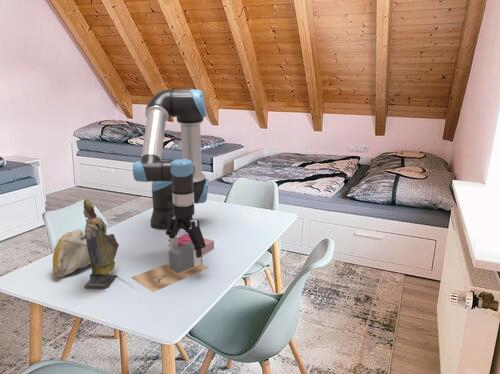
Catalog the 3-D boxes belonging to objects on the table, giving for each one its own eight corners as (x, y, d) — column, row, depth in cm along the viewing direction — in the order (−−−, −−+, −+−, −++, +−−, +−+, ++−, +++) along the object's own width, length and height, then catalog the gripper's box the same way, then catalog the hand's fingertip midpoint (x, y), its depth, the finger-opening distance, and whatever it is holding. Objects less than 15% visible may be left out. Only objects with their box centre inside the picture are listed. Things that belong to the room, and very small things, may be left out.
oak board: (186, 258, 154) (186, 256, 154) (209, 270, 145) (209, 267, 145) (131, 280, 138) (130, 277, 137) (153, 294, 128) (153, 291, 128)
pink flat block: (176, 231, 171) (214, 240, 161) (176, 241, 172) (214, 251, 162) (161, 238, 163) (200, 248, 153) (162, 249, 164) (200, 259, 155)
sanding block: (193, 261, 150) (193, 241, 148) (202, 265, 147) (201, 245, 145) (169, 270, 143) (168, 250, 140) (178, 275, 139) (177, 254, 137)
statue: (95, 269, 146) (86, 191, 138) (123, 269, 145) (116, 191, 137) (76, 290, 131) (65, 204, 123) (108, 290, 131) (99, 204, 123)
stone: (123, 255, 155) (70, 268, 133) (100, 269, 161) (46, 285, 138) (108, 221, 158) (54, 229, 135) (86, 236, 163) (31, 246, 141)
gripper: (154, 199, 144) (157, 252, 149) (197, 214, 127) (199, 273, 133) (171, 195, 149) (174, 247, 155) (214, 208, 133) (216, 266, 138)
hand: (185, 259), depth 144 cm, fingers open, 13 cm apart
